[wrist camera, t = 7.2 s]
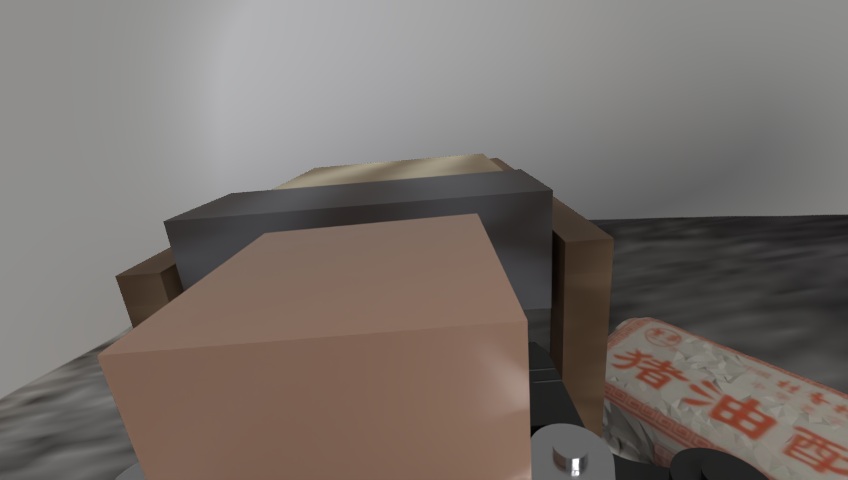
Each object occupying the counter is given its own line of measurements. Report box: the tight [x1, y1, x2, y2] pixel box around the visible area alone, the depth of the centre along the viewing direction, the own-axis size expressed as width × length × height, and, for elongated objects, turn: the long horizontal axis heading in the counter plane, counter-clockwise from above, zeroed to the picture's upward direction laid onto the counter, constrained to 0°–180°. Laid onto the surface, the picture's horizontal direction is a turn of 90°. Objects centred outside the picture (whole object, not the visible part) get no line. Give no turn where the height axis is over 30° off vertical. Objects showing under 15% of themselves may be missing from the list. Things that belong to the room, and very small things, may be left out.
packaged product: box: [602, 317, 848, 480], centre depth 16 cm, size 18×5×10 cm
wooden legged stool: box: [116, 158, 614, 439], centre depth 27 cm, size 17×24×12 cm
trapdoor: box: [164, 154, 553, 310], centre depth 23 cm, size 13×19×4 cm
